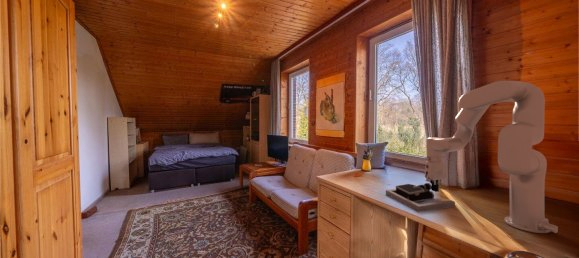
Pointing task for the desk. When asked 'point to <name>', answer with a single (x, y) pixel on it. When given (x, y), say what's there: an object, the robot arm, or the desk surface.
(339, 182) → the desk surface
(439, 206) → the stand
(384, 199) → the desk surface
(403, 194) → the film camera
